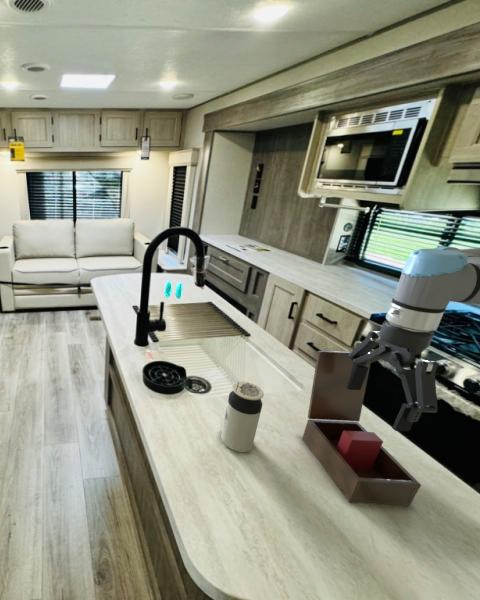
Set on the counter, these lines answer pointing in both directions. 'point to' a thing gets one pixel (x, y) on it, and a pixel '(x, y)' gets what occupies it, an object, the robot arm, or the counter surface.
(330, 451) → the chest
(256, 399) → the travel mug
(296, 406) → the counter surface
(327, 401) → the lid
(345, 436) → the red rectangular brick
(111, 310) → the counter surface
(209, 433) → the counter surface
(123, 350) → the counter surface
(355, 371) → the robot arm
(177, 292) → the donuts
